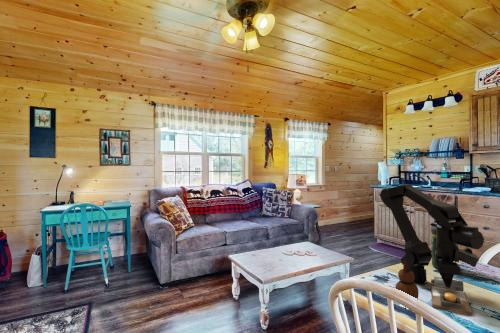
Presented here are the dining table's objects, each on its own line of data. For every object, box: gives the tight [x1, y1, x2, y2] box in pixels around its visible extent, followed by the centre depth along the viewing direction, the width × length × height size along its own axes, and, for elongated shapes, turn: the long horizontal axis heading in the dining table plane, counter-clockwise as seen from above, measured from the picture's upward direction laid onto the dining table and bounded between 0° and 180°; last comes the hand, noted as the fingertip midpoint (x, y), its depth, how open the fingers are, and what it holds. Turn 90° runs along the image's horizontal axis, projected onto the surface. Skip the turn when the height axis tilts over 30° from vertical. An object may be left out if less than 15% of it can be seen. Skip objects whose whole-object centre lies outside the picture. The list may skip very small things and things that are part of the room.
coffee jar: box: [430, 226, 439, 269], centre depth 121 cm, size 10×8×19 cm
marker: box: [430, 276, 465, 292], centre depth 95 cm, size 9×3×3 cm, turn 57°
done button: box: [445, 293, 456, 302], centre depth 87 cm, size 3×3×2 cm
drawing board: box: [430, 285, 473, 316], centre depth 91 cm, size 10×15×2 cm, turn 147°
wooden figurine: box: [394, 261, 419, 300], centre depth 90 cm, size 7×6×15 cm
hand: (447, 285), depth 95 cm, fingers closed on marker, 3 cm apart
